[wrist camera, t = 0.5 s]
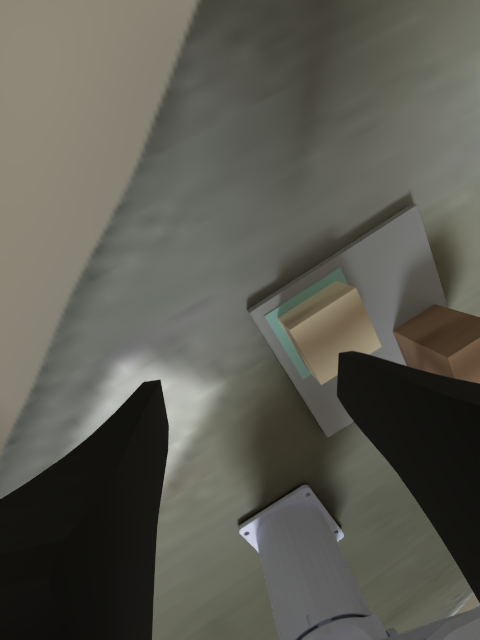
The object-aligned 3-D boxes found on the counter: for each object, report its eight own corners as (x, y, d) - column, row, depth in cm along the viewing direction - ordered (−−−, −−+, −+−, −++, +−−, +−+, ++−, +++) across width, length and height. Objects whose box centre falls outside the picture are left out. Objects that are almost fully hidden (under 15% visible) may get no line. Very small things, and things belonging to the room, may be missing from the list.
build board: (453, 349, 25) (463, 353, 24) (323, 432, 25) (328, 438, 24) (408, 205, 20) (418, 204, 19) (246, 309, 20) (249, 313, 19)
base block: (360, 334, 22) (381, 346, 19) (306, 368, 22) (321, 385, 19) (335, 280, 20) (355, 287, 17) (277, 318, 20) (289, 330, 18)
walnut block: (446, 341, 24) (511, 369, 19) (407, 367, 24) (461, 400, 19) (434, 304, 22) (501, 323, 17) (392, 331, 22) (447, 357, 17)
